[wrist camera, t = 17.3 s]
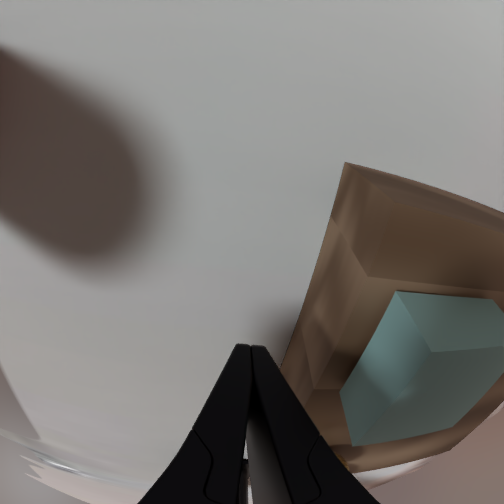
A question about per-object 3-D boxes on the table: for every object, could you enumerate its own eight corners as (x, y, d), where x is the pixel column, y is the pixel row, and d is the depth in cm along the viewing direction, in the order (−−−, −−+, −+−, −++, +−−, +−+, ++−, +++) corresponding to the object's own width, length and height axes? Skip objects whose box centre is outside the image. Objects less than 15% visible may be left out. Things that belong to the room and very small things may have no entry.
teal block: (433, 384, 11) (452, 427, 9) (339, 392, 11) (352, 446, 8) (492, 299, 9) (526, 342, 7) (395, 291, 8) (431, 352, 6)
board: (435, 415, 22) (449, 450, 19) (255, 430, 21) (257, 479, 17) (554, 236, 13) (592, 269, 9) (344, 161, 11) (394, 202, 7)
